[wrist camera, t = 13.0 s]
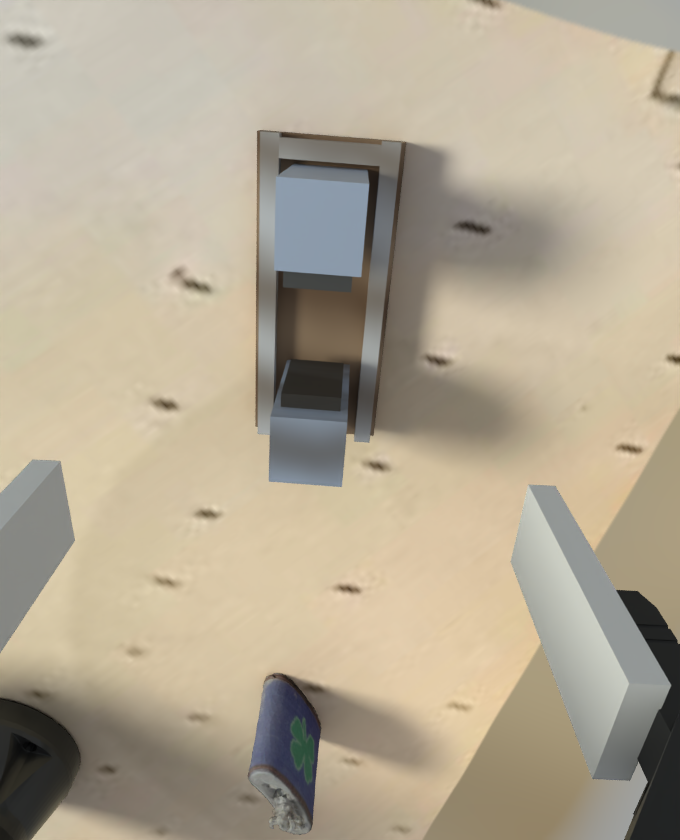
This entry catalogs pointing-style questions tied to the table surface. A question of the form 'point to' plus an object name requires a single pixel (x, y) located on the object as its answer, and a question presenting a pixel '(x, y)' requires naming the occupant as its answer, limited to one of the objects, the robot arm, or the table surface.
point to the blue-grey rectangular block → (320, 226)
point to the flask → (286, 754)
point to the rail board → (322, 317)
